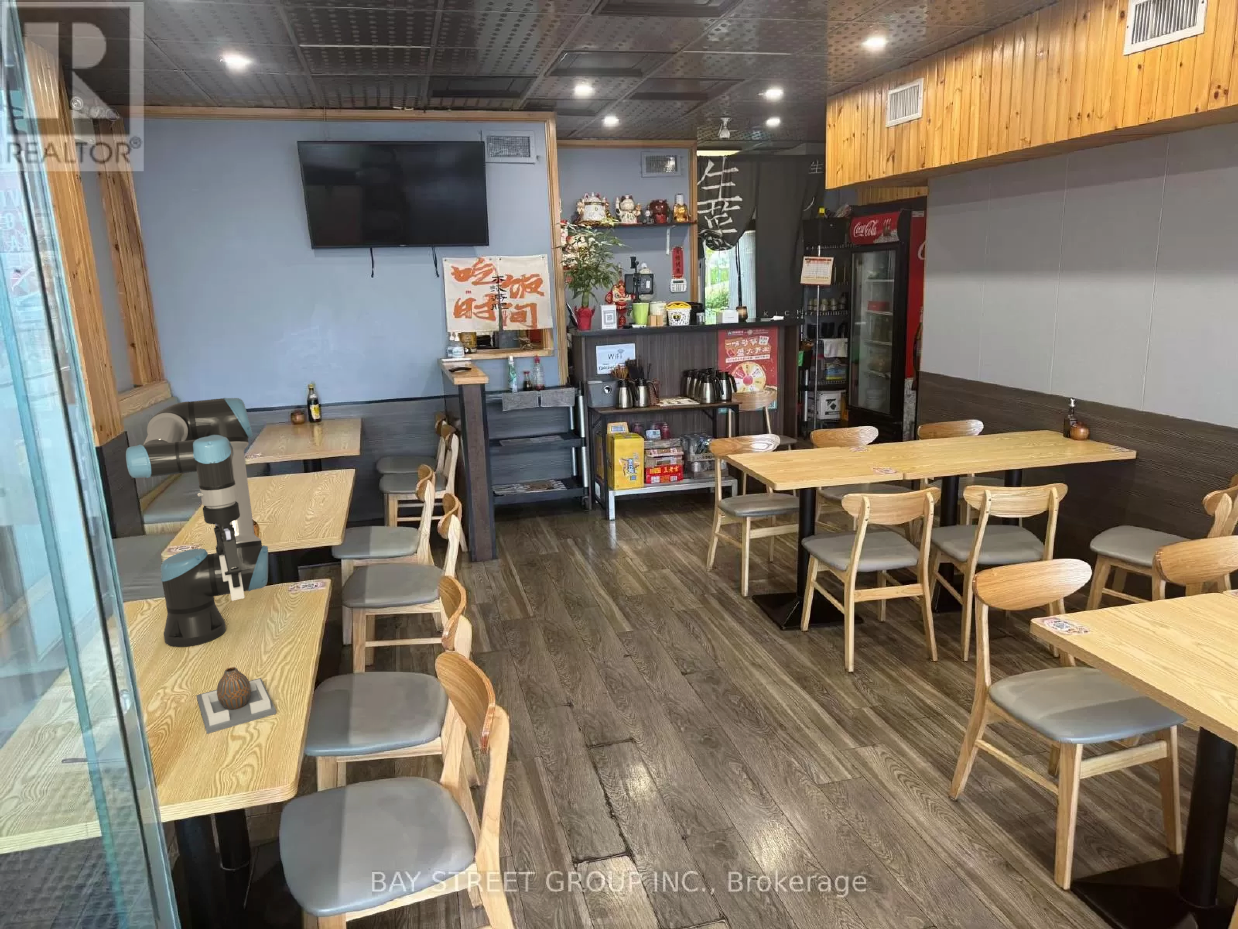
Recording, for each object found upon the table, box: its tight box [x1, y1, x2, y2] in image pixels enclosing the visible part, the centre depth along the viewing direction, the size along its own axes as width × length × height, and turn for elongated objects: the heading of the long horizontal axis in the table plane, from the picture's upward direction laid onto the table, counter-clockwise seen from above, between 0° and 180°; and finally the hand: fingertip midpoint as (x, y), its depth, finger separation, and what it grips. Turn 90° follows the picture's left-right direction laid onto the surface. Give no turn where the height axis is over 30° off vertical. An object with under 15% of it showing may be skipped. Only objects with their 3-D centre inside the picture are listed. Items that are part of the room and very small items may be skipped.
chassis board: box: [196, 677, 277, 735], centre depth 188 cm, size 18×14×3 cm
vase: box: [216, 666, 251, 710], centre depth 186 cm, size 7×7×9 cm
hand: (233, 589), depth 197 cm, fingers open, 13 cm apart
